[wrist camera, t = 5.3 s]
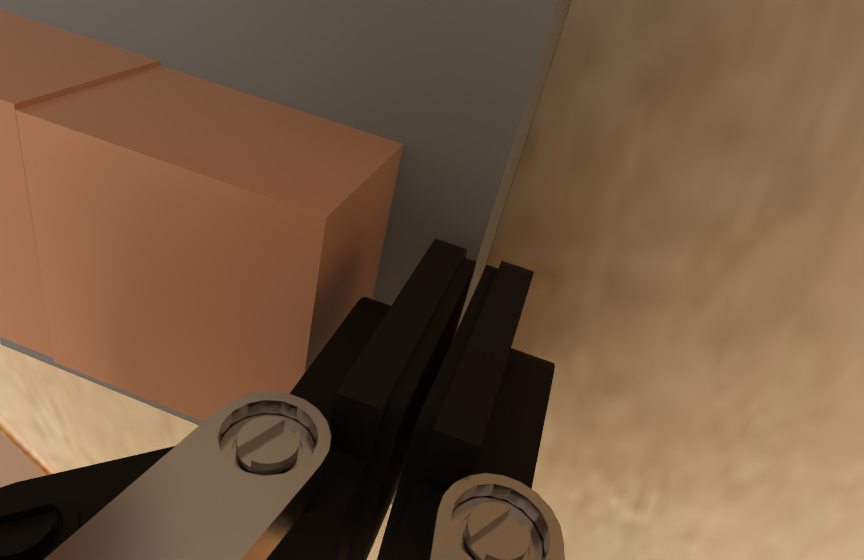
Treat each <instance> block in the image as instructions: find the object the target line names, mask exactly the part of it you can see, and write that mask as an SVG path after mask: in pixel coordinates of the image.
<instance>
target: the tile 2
mask: <svg viewBox="0 0 864 560" xmlns="http://www.w3.org/2000/svg"><path fill="white" fill-rule="evenodd" d="M15 111H16V117H17V124H18V130H19V137H20V143H21V150H22V156H23V163H24V169H25V176H26V182H27V189H28V195H29V202H30V208H31V215H32V221H33V228H34V234H35V241H36V247H37V254H38V260H39V267H40V273H41V280H42V286H43V293H44V299H45V306H46V312H47V319H48V325H49V331H50V338H51V344H52V351H53V357H54V362H56V363H58V364H61V365H63V366H66V367H68V368H71V369H73V370H76V371H78V372H80V373H83V374H85V375H88V376H90V377H93V378H95V379H98V380H100V381H103V382H105V383H108V384H110V385H113V386H115V387H118V388H120V389H123V390H125V391H128V392H130V393H133V394H135V395H138V396H140V397H143V398H145V399H148V400H150V401H153V402H155V403H158V404H160V405H163V406H165V407H168V408H170V409H173V410H175V411H178V412H180V413H183V414H185V415H188V416H190V417H193V418H195V419H198V420H200V421H203V422H204V421H205V420H206V419H208V418H209V417H210V416H211V415H212V414H213V413H214V412H216V411H217V410H218V409H219V408H221V407H222V406H224V405H225V404H227V403H228V402H230V401H231V400H233V399H235V398H238V397H241V396H244V395H247V394H250V393H255V392H266V391H273V392H281V393H289V394H290V392H291V391H292V390H293V388H294V387H295V385H296V384H297V383H298V381H299V380H300V379H301V377H302V376H303V375H304V373H305V372H306V371H307V369H308V368H309V367H310V365H311V364H312V363H313V361H314V360H315V358H316V357H317V356H318V354H319V353H320V352H321V350H322V349H323V348H324V346H325V345H326V344H327V342H328V341H329V340H330V338H331V337H332V336H333V334H334V333H335V331H336V330H337V329H338V327H339V326H340V325H341V323H342V322H343V321H344V319H345V318H346V317H347V315H348V314H349V313H350V311H351V310H352V309H353V307H354V306H355V304H356V303H357V302H358V301H359V300H360V299H361V298H362V297H368V298H371V299H372V298H373V293H374V288H375V283H376V278H377V273H378V268H379V263H380V258H381V253H382V248H383V243H384V239H385V234H386V229H387V224H388V219H389V214H390V209H391V204H392V199H393V194H394V189H395V184H396V179H397V174H398V169H399V164H400V159H401V154H402V150H403V145H404V144H402V143H399V142H395V141H392V140H389V139H386V138H383V137H380V136H377V135H374V134H371V133H368V132H365V131H362V130H358V129H355V128H352V127H349V126H346V125H343V124H340V123H337V122H334V121H331V120H328V119H325V118H321V117H318V116H315V115H312V114H309V113H306V112H303V111H300V110H297V109H294V108H291V107H288V106H284V105H281V104H278V103H275V102H272V101H269V100H266V99H263V98H260V97H257V96H254V95H251V94H247V93H244V92H241V91H238V90H235V89H232V88H229V87H226V86H223V85H220V84H217V83H213V82H210V81H207V80H204V79H201V78H198V77H195V76H192V75H189V74H186V73H183V72H180V71H176V70H173V69H170V68H167V67H164V66H161V65H160V66H156V67H153V68H150V69H147V70H143V71H140V72H137V73H134V74H130V75H127V76H124V77H121V78H117V79H114V80H111V81H108V82H104V83H101V84H98V85H95V86H91V87H88V88H85V89H82V90H78V91H75V92H72V93H69V94H65V95H62V96H59V97H56V98H52V99H49V100H46V101H43V102H39V103H36V104H33V105H30V106H26V107H23V108H20V109H17V110H15Z"/></svg>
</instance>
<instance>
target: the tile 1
mask: <svg viewBox="0 0 864 560" xmlns="http://www.w3.org/2000/svg"><path fill="white" fill-rule="evenodd" d="M156 66H160V60H157V59H154V58H151V57H148V56H145V55H142V54H139V53H136V52H133V51H130V50H127V49H123V48H120V47H117V46H114V45H111V44H108V43H105V42H102V41H99V40H96V39H92V38H89V37H86V36H83V35H80V34H77V33H74V32H71V31H68V30H65V29H62V28H58V27H55V26H52V25H49V24H46V23H43V22H40V21H37V20H34V19H31V18H28V17H24V16H21V15H18V14H15V13H12V12H9V11H6V10H3V9H0V337H2V338H4V339H7V340H9V341H12V342H14V343H17V344H19V345H22V346H24V347H27V348H29V349H32V350H34V351H37V352H39V353H42V354H44V355H47V356H49V357H52V358H54V357H53V351H52V344H51V338H50V331H49V325H48V319H47V312H46V306H45V299H44V293H43V286H42V280H41V273H40V267H39V260H38V254H37V247H36V241H35V234H34V228H33V221H32V215H31V208H30V202H29V195H28V189H27V182H26V176H25V169H24V163H23V156H22V150H21V143H20V137H19V130H18V124H17V117H16V111H15V110H17V109H20V108H23V107H26V106H30V105H33V104H36V103H39V102H43V101H46V100H49V99H52V98H56V97H59V96H62V95H65V94H69V93H72V92H75V91H78V90H82V89H85V88H88V87H91V86H95V85H98V84H101V83H104V82H108V81H111V80H114V79H117V78H121V77H124V76H127V75H130V74H134V73H137V72H140V71H143V70H147V69H150V68H153V67H156Z"/></svg>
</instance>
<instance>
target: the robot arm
mask: <svg viewBox="0 0 864 560" xmlns="http://www.w3.org/2000/svg"><path fill="white" fill-rule="evenodd" d="M466 254H467V249H465V248H462V247H459V246H456V245H453V244H450V243H447V242H444V241H441V240H439V239H434V241H433V242H432V244H431V245H430V247H429V248H428V250H427V251H426V253H425V255H424V256H423V258H422V259H421V261H420V262H419V264H418V265H417V267H416V268H415V270H414V272H413V273H412V275H411V276H410V278H409V279H408V281H407V282H406V284H405V285H404V287H403V289H402V290H401V292H400V293H399V295H398V296H397V298H396V299H395V301H394V303H393V304H392V306H391V305H388V304H385V303H382V302H379V301H376V300H374V299H371V298H368V297H362V298H361V299H360V300H359V301H358V302H357V303H356V304H355V306H354V307H353V309H352V310H351V311H350V313H349V314H348V315H347V317H346V318H345V319H344V321H343V322H342V323H341V325H340V326H339V327H338V329H337V330H336V331H335V333H334V334H333V336H332V337H331V338H330V340H329V341H328V342H327V344H326V345H325V346H324V348H323V349H322V350H321V352H320V353H319V354H318V356H317V357H316V358H315V360H314V361H313V363H312V364H311V365H310V367H309V368H308V369H307V371H306V372H305V373H304V375H303V376H302V377H301V379H300V380H299V381H298V383H297V384H296V385H295V387H294V388H293V390H292V391H291V392H290V394H289V393H281V392H273V391H266V392H255V393H250V394H247V395H244V396H241V397H238V398H235V399H233V400H231V401H230V402H228V403H227V404H225V405H224V406H222V407H221V408H219V409H218V410H217V411H216V412H214V413H213V414H212V415H211V416H210V417H209V418H208V419H206V420H205V421H204V422H203V423H202V424H201V425H199V426H198V427H197V428H196V429H195V430H194V431H192V432H191V433H190V434H189V435H188V436H187V437H185V438H184V439H183V440H182V441H181V442H180V443H178V444H177V445H176V446H174V447H169V448H165V449H161V450H156V451H152V452H148V453H143V454H139V455H134V456H130V457H126V458H121V459H117V460H112V461H108V462H104V463H99V464H95V465H90V466H86V467H82V468H77V469H73V470H69V471H64V472H60V473H55V474H51V475H47V476H42V477H38V478H33V479H29V480H25V481H20V482H16V483H13V484H10V485H7V486H4V487H1V488H0V560H367V557H368V555H369V553H370V550H371V548H372V546H373V543H374V541H375V539H376V536H377V534H378V532H379V529H380V527H381V525H382V522H383V520H384V518H385V515H386V513H387V511H388V508H389V506H390V504H391V501H392V499H393V497H394V494H395V492H396V494H395V498H394V501H393V505H392V508H391V512H390V516H389V519H388V523H387V526H386V530H385V533H384V537H383V540H382V544H381V547H380V551H379V555H378V558H377V560H565V556H564V541H563V536H562V532H561V527H560V524H559V522H558V520H557V518H556V516H555V515H554V513H553V511H552V509H551V507H550V506H549V505H548V504H547V503H546V502H545V501H544V500H543V499H542V498H541V497H540V496H539V494H538V493H536V492H535V491H533V490H532V489H531V488H532V483H533V478H534V472H535V467H536V462H537V457H538V452H539V447H540V441H541V436H542V431H543V426H544V421H545V416H546V410H547V405H548V400H549V395H550V390H551V385H552V379H553V374H554V368H555V365H554V363H551V362H549V361H546V360H543V359H540V358H537V357H534V356H532V355H529V354H526V353H523V352H520V351H518V350H515V349H512V348H511V345H512V342H513V339H514V336H515V332H516V329H517V326H518V322H519V319H520V316H521V313H522V309H523V306H524V303H525V299H526V296H527V293H528V290H529V286H530V283H531V280H532V277H533V273H534V271H531V270H528V269H525V268H522V267H519V266H516V265H513V264H510V263H507V262H504V261H502V262H501V264H500V267H499V269H497V268H494V267H491V266H488V265H486V267H485V269H484V271H483V273H482V276H481V278H480V280H479V282H478V285H477V287H476V289H475V291H474V293H473V296H472V298H471V300H470V302H469V305H468V307H467V309H466V311H465V314H464V316H463V318H462V320H461V322H460V325H459V327H458V324H459V321H460V318H461V314H462V311H463V308H464V304H465V301H466V298H467V294H468V291H469V288H470V284H471V281H472V278H473V274H474V271H475V267H476V263H477V262H476V261H473V260H470V259H467V258H466ZM457 328H458V329H457ZM396 490H397V491H396Z"/></svg>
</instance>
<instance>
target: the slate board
mask: <svg viewBox="0 0 864 560" xmlns="http://www.w3.org/2000/svg"><path fill="white" fill-rule="evenodd" d="M570 2H571V0H0V9H3V10H6V11H9V12H12V13H15V14H18V15H21V16H24V17H28V18H31V19H34V20H37V21H40V22H43V23H46V24H49V25H52V26H55V27H58V28H62V29H65V30H68V31H71V32H74V33H77V34H80V35H83V36H86V37H89V38H92V39H96V40H99V41H102V42H105V43H108V44H111V45H114V46H117V47H120V48H123V49H127V50H130V51H133V52H136V53H139V54H142V55H145V56H148V57H151V58H154V59H157V60H160V65H161V66H164V67H167V68H170V69H173V70H176V71H180V72H183V73H186V74H189V75H192V76H195V77H198V78H201V79H204V80H207V81H210V82H213V83H217V84H220V85H223V86H226V87H229V88H232V89H235V90H238V91H241V92H244V93H247V94H251V95H254V96H257V97H260V98H263V99H266V100H269V101H272V102H275V103H278V104H281V105H284V106H288V107H291V108H294V109H297V110H300V111H303V112H306V113H309V114H312V115H315V116H318V117H321V118H325V119H328V120H331V121H334V122H337V123H340V124H343V125H346V126H349V127H352V128H355V129H358V130H362V131H365V132H368V133H371V134H374V135H377V136H380V137H383V138H386V139H389V140H392V141H395V142H399V143H402V144H404V145H403V150H402V154H401V159H400V164H399V169H398V174H397V179H396V184H395V189H394V194H393V199H392V204H391V209H390V214H389V219H388V224H387V229H386V234H385V239H384V243H383V248H382V253H381V258H380V263H379V268H378V273H377V278H376V283H375V288H374V293H373V298H372V299H374V300H376V301H379V302H382V303H385V304H388V305H391V306H392V304H393V303H394V301H395V299H396V298H397V296H398V295H399V293H400V292H401V290H402V289H403V287H404V285H405V284H406V282H407V281H408V279H409V278H410V276H411V275H412V273H413V272H414V270H415V268H416V267H417V265H418V264H419V262H420V261H421V259H422V258H423V256H424V255H425V253H426V251H427V250H428V248H429V247H430V245H431V244H432V242H433V241H434V239H439V240H441V241H444V242H447V243H450V244H453V245H456V246H459V247H462V248H465V249H467V254H466V258H467V259H470V260H473V261H476V262H477V263H476V267H475V271H474V274H473V278H472V281H471V284H470V288H469V291H468V294H467V298H466V301H465V304H464V308H463V311H462V314H461V318H460V321H459V324H458V327H459V325H460V322H461V320H462V318H463V316H464V314H465V311H466V309H467V307H468V305H469V302H470V300H471V298H472V296H473V293H474V291H475V289H476V287H477V285H478V282H479V280H480V278H481V276H482V273H483V271H484V268H485V265H486V262H487V259H488V256H489V253H490V250H491V247H492V244H493V240H494V237H495V234H496V231H497V228H498V225H499V222H500V219H501V216H502V213H503V209H504V206H505V203H506V200H507V197H508V194H509V191H510V188H511V185H512V182H513V179H514V175H515V172H516V169H517V166H518V163H519V160H520V157H521V154H522V151H523V148H524V144H525V141H526V138H527V135H528V132H529V129H530V126H531V123H532V120H533V117H534V114H535V110H536V107H537V104H538V101H539V98H540V95H541V92H542V89H543V86H544V83H545V79H546V76H547V73H548V70H549V67H550V64H551V61H552V58H553V55H554V52H555V49H556V45H557V42H558V39H559V36H560V33H561V30H562V27H563V24H564V21H565V18H566V14H567V11H568V8H569V5H570ZM457 329H458V328H457ZM0 342H1V345H4V346H6V347H9V348H11V349H14V350H16V351H18V352H21V353H23V354H26V355H28V356H31V357H33V358H36V359H38V360H40V361H43V362H45V363H48V364H50V365H53V366H55V367H58V368H60V369H63V370H65V371H67V372H70V373H72V374H75V375H77V376H80V377H82V378H85V379H87V380H90V381H92V382H94V383H97V384H99V385H102V386H104V387H107V388H109V389H112V390H114V391H116V392H119V393H121V394H124V395H126V396H129V397H131V398H134V399H136V400H139V401H141V402H143V403H146V404H148V405H151V406H153V407H156V408H158V409H161V410H163V411H165V412H168V413H170V414H173V415H175V416H178V417H180V418H183V419H185V420H188V421H190V422H192V423H195V424H197V425H201V424H202V423H203V421H200V420H198V419H195V418H193V417H190V416H188V415H185V414H183V413H180V412H178V411H175V410H173V409H170V408H168V407H165V406H163V405H160V404H158V403H155V402H153V401H150V400H148V399H145V398H143V397H140V396H138V395H135V394H133V393H130V392H128V391H125V390H123V389H120V388H118V387H115V386H113V385H110V384H108V383H105V382H103V381H100V380H98V379H95V378H93V377H90V376H88V375H85V374H83V373H80V372H78V371H76V370H73V369H71V368H68V367H66V366H63V365H61V364H58V363H56V362H54V358H52V357H49V356H47V355H44V354H42V353H39V352H37V351H34V350H32V349H29V348H27V347H24V346H22V345H19V344H17V343H14V342H12V341H9V340H7V339H4V338H2V337H0ZM396 491H397V490H396ZM395 494H396V492H395ZM395 494H394V497H393V499H392V501H391V504H393V501H394V498H395Z"/></svg>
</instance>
